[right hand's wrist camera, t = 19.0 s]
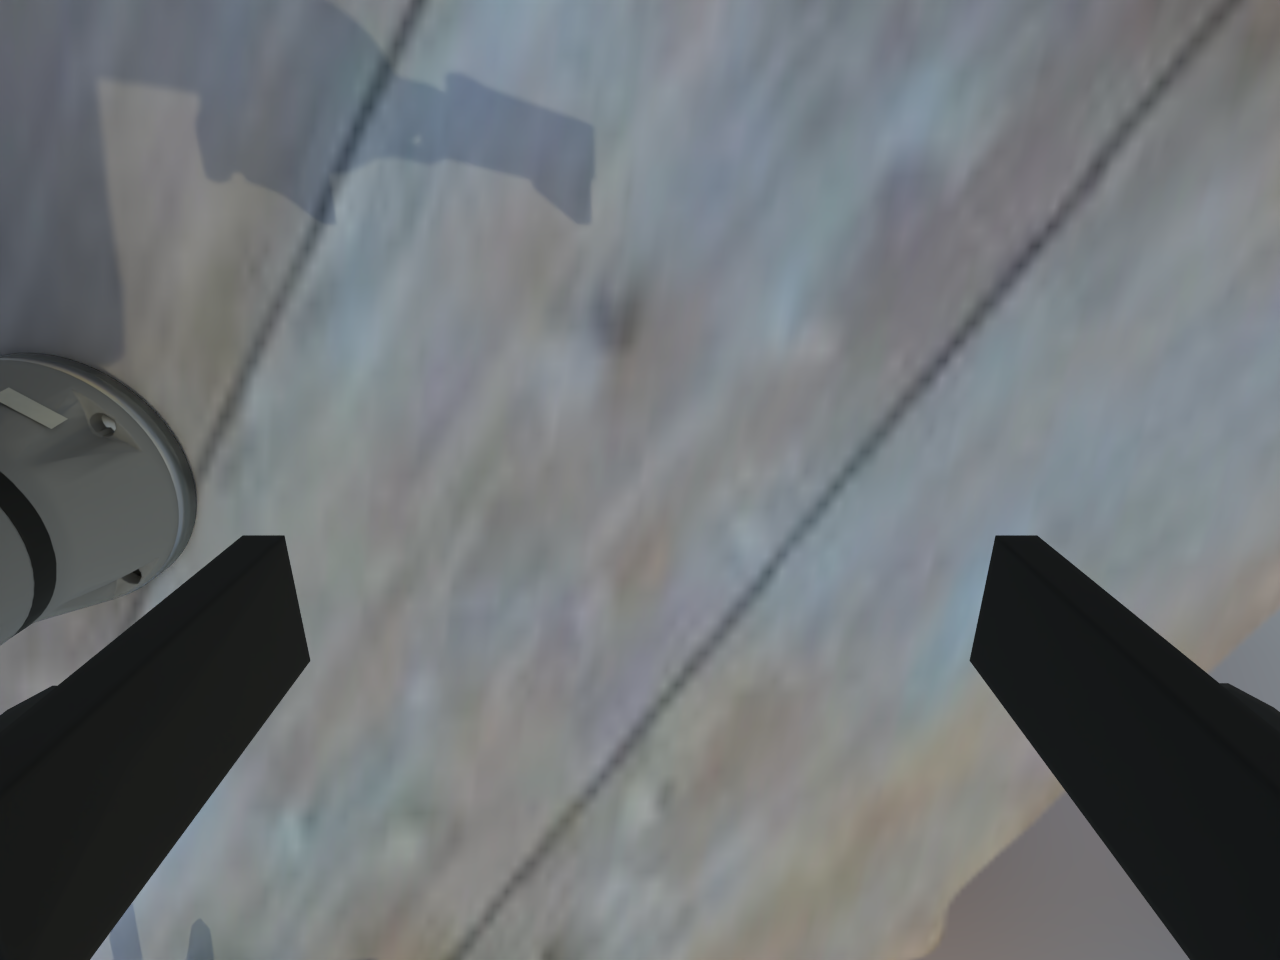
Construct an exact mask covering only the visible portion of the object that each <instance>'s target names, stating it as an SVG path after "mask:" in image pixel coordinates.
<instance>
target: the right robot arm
mask: <svg viewBox="0 0 1280 960" xmlns="http://www.w3.org/2000/svg"><path fill="white" fill-rule="evenodd" d="M195 516H196V494H195V487H194V482H193V478H192V474H191V471H190V468H189V465H188V463H187V460H186V458H185V456H184V454H183V452H182V450H181V448H180V446H179V444H178V442H177V441H176V439H175V438H174V436H173V434H172V433H171V432H170V430H169V429H168V427H167V426H166V425H165V423H164V422H163V421H162V420H161V419H160V418H159V416H158V415H157V414H156V413H155V412H154V411H153V410H152V409H151V408H150V407H149V406H148V405H147V404H146V403H145V402H144V401H143V400H142V399H140V398H139V397H138V396H137V395H136V394H134V393H133V392H132V391H131V390H129V389H128V388H126V387H125V386H124V385H122V384H121V383H119V382H118V381H116V380H114V379H113V378H111V377H109V376H108V375H106V374H104V373H102V372H100V371H98V370H96V369H94V368H91V367H89V366H87V365H84V364H82V363H79V362H76V361H73V360H70V359H66V358H62V357H57V356H52V355H46V354H36V353H15V354H8V355H1V356H0V645H2V644H3V643H4V642H6V641H7V640H8V639H10V638H11V637H13V636H14V635H16V634H17V633H19V632H20V631H22V630H23V629H25V628H26V627H28V626H29V625H31V624H32V623H34V622H37V621H41V620H44V619H47V618H51V617H54V616H58V615H61V614H65V613H68V612H71V611H75V610H78V609H82V608H85V607H89V606H92V605H95V604H99V603H102V602H106V601H109V600H113V599H116V598H118V597H121V596H123V595H126V594H129V593H131V592H133V591H135V590H137V589H139V588H141V587H142V586H144V585H146V584H147V583H148V582H150V581H151V580H152V579H154V578H155V577H156V576H158V575H159V574H160V573H162V572H163V571H164V570H165V569H167V568H168V567H169V566H170V565H171V564H172V563H173V562H174V561H175V560H176V559H177V558H178V557H179V556H180V554H181V553H182V552H183V550H184V548H185V547H186V545H187V543H188V541H189V539H190V536H191V534H192V530H193V527H194V523H195ZM309 662H310V657H309V652H308V647H307V642H306V638H305V633H304V628H303V623H302V618H301V614H300V609H299V604H298V599H297V594H296V589H295V585H294V580H293V575H292V570H291V565H290V560H289V556H288V551H287V546H286V541H285V536H242V537H240V538H239V539H238V540H237V541H236V542H234V543H233V544H232V545H231V546H229V547H228V548H227V549H226V550H224V551H223V552H222V553H221V554H220V555H218V556H217V557H216V558H215V559H213V560H212V561H211V562H210V563H208V564H207V565H206V566H205V567H203V568H202V569H201V570H200V571H199V572H197V573H196V574H195V575H194V576H192V577H191V578H190V579H189V580H187V581H186V582H185V583H184V584H183V585H181V586H180V587H179V588H178V589H176V590H175V591H174V592H173V593H171V594H170V595H169V596H168V597H167V598H165V599H164V600H163V601H162V602H160V603H159V604H158V605H157V606H155V607H154V608H153V609H152V610H151V611H149V612H148V613H147V614H146V615H144V616H143V617H142V618H141V619H139V620H138V621H137V622H136V623H134V624H133V625H132V626H131V627H130V628H128V629H127V630H126V631H125V632H123V633H122V634H121V635H120V636H118V637H117V638H116V639H115V640H114V641H112V642H111V643H110V644H109V645H107V646H106V647H105V648H104V649H102V650H101V651H100V652H99V653H98V654H96V655H95V656H94V657H93V658H91V659H90V660H89V661H88V662H86V663H85V664H84V665H83V666H82V667H80V668H79V669H78V670H77V671H75V672H74V673H73V674H72V675H70V676H69V677H68V678H67V679H65V680H64V681H63V682H62V683H61V684H59V685H58V686H51V687H49V688H48V689H46V690H44V691H42V692H40V693H38V694H36V695H34V696H33V697H31V698H29V699H27V700H25V701H23V702H21V703H20V704H18V705H16V706H14V707H12V708H10V709H8V710H7V711H5V712H4V713H3V714H2V715H0V960H90V959H91V958H92V956H93V955H94V953H95V952H96V951H97V949H98V948H99V947H100V945H101V944H102V943H103V941H104V940H105V939H106V937H107V936H108V934H109V933H110V932H111V930H112V929H113V928H114V926H115V925H116V924H117V922H118V921H119V920H120V918H121V917H122V915H123V914H124V913H125V911H126V910H127V909H128V907H129V906H130V905H131V903H132V902H133V901H134V899H135V898H136V896H137V895H138V894H139V892H140V891H141V890H142V888H143V887H144V886H145V884H146V883H147V882H148V880H149V879H150V877H151V876H152V875H153V873H154V872H155V871H156V869H157V868H158V867H159V865H160V864H161V863H162V861H163V860H164V858H165V857H166V856H167V854H168V853H169V852H170V850H171V849H172V848H173V846H174V845H175V844H176V842H177V841H178V839H179V838H180V837H181V835H182V834H183V833H184V831H185V830H186V829H187V827H188V826H189V825H190V823H191V822H192V820H193V819H194V818H195V816H196V815H197V814H198V812H199V811H200V810H201V808H202V807H203V806H204V804H205V803H206V801H207V800H208V799H209V797H210V796H211V795H212V793H213V792H214V791H215V789H216V788H217V787H218V785H219V784H220V782H221V781H222V780H223V778H224V777H225V776H226V774H227V773H228V772H229V770H230V769H231V768H232V766H233V765H234V763H235V762H236V761H237V759H238V758H239V757H240V755H241V754H242V753H243V751H244V750H245V749H246V747H247V746H248V744H249V743H250V742H251V740H252V739H253V738H254V736H255V735H256V734H257V732H258V731H259V730H260V728H261V727H262V725H263V724H264V723H265V721H266V720H267V719H268V717H269V716H270V715H271V713H272V712H273V711H274V709H275V708H276V706H277V705H278V704H279V702H280V701H281V700H282V698H283V697H284V696H285V694H286V693H287V692H288V690H289V689H290V687H291V686H292V685H293V683H294V682H295V681H296V679H297V678H298V677H299V675H300V674H301V673H302V671H303V670H304V668H305V667H306V666H307V664H308V663H309ZM970 662H971V663H972V664H973V666H974V667H975V668H976V670H977V671H978V673H979V674H980V675H981V677H982V678H983V679H984V681H985V682H986V683H987V685H988V686H989V687H990V689H991V690H992V692H993V693H994V694H995V696H996V697H997V698H998V700H999V701H1000V702H1001V704H1002V705H1003V706H1004V708H1005V709H1006V711H1007V712H1008V713H1009V715H1010V716H1011V717H1012V719H1013V720H1014V721H1015V723H1016V724H1017V725H1018V727H1019V728H1020V730H1021V731H1022V732H1023V734H1024V735H1025V736H1026V738H1027V739H1028V740H1029V742H1030V743H1031V744H1032V746H1033V747H1034V749H1035V750H1036V751H1037V753H1038V754H1039V755H1040V757H1041V758H1042V759H1043V761H1044V762H1045V763H1046V765H1047V766H1048V768H1049V769H1050V770H1051V772H1052V773H1053V774H1054V776H1055V777H1056V778H1057V780H1058V781H1059V782H1060V784H1061V785H1062V787H1063V788H1064V789H1065V791H1066V792H1067V793H1068V795H1069V796H1070V797H1071V799H1072V800H1073V801H1074V803H1075V804H1076V806H1077V807H1078V808H1079V810H1080V811H1081V812H1082V814H1083V815H1084V816H1085V818H1086V819H1087V820H1088V822H1089V823H1090V824H1091V826H1092V827H1093V829H1094V830H1095V831H1096V833H1097V834H1098V835H1099V837H1100V838H1101V839H1102V841H1103V842H1104V844H1105V845H1106V846H1107V848H1108V849H1109V850H1110V852H1111V853H1112V854H1113V856H1114V857H1115V858H1116V860H1117V861H1118V863H1119V864H1120V865H1121V867H1122V868H1123V869H1124V871H1125V872H1126V873H1127V875H1128V876H1129V877H1130V879H1131V880H1132V882H1133V883H1134V884H1135V886H1136V887H1137V888H1138V890H1139V891H1140V892H1141V894H1142V895H1143V896H1144V898H1145V899H1146V901H1147V902H1148V903H1149V905H1150V906H1151V907H1152V909H1153V910H1154V911H1155V913H1156V914H1157V915H1158V917H1159V918H1160V920H1161V921H1162V922H1163V924H1164V925H1165V926H1166V928H1167V929H1168V930H1169V932H1170V933H1171V934H1172V936H1173V937H1174V938H1175V940H1176V941H1177V943H1178V944H1179V945H1180V947H1181V948H1182V949H1183V951H1184V952H1185V953H1186V955H1187V956H1188V958H1189V959H1190V960H1280V712H1279V711H1278V710H1276V709H1275V708H1274V707H1272V706H1270V705H1268V704H1266V703H1264V702H1262V701H1260V700H1259V699H1257V698H1255V697H1253V696H1251V695H1249V694H1247V693H1245V692H1244V691H1242V690H1240V689H1238V688H1236V687H1234V686H1232V685H1230V684H1228V683H1218V682H1217V681H1216V680H1214V679H1213V678H1212V677H1211V676H1210V675H1208V674H1207V673H1206V672H1205V671H1203V670H1202V669H1201V668H1200V667H1198V666H1197V665H1196V664H1195V663H1194V662H1192V661H1191V660H1190V659H1189V658H1187V657H1186V656H1185V655H1184V654H1182V653H1181V652H1180V651H1179V650H1178V649H1176V648H1175V647H1174V646H1173V645H1171V644H1170V643H1169V642H1168V641H1166V640H1165V639H1164V638H1163V637H1162V636H1160V635H1159V634H1158V633H1157V632H1155V631H1154V630H1153V629H1152V628H1150V627H1149V626H1148V625H1147V624H1146V623H1144V622H1143V621H1142V620H1141V619H1139V618H1138V617H1137V616H1136V615H1134V614H1133V613H1132V612H1131V611H1129V610H1128V609H1127V608H1126V607H1125V606H1123V605H1122V604H1121V603H1120V602H1118V601H1117V600H1116V599H1115V598H1113V597H1112V596H1111V595H1110V594H1109V593H1107V592H1106V591H1105V590H1104V589H1102V588H1101V587H1100V586H1099V585H1097V584H1096V583H1095V582H1094V581H1093V580H1091V579H1090V578H1089V577H1088V576H1086V575H1085V574H1084V573H1083V572H1081V571H1080V570H1079V569H1078V568H1077V567H1075V566H1074V565H1073V564H1072V563H1070V562H1069V561H1068V560H1067V559H1065V558H1064V557H1063V556H1062V555H1060V554H1059V553H1058V552H1057V551H1056V550H1054V549H1053V548H1052V547H1051V546H1049V545H1048V544H1047V543H1046V542H1044V541H1043V540H1042V539H1041V538H1040V537H1038V536H995V541H994V546H993V551H992V556H991V560H990V565H989V570H988V575H987V580H986V585H985V589H984V594H983V599H982V604H981V609H980V614H979V618H978V623H977V628H976V633H975V638H974V642H973V647H972V652H971V657H970Z"/></svg>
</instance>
